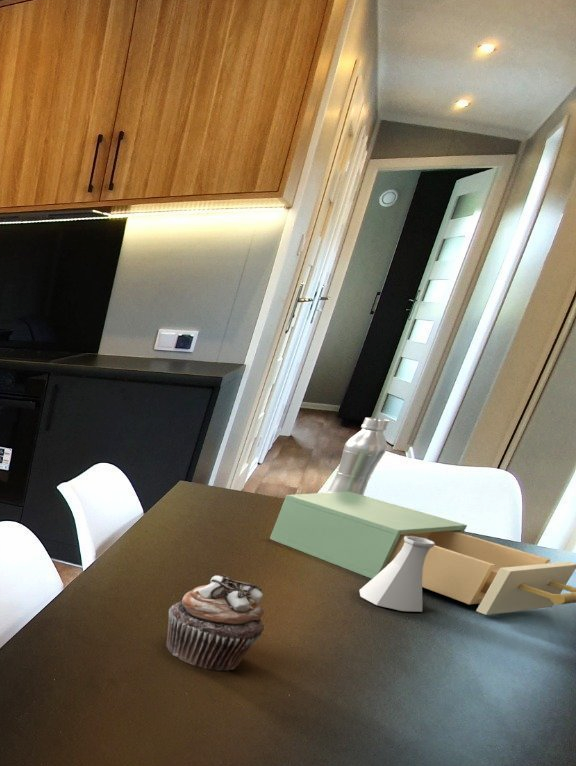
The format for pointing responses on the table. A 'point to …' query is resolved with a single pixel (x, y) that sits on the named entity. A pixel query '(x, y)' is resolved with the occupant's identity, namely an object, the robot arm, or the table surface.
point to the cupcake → (216, 623)
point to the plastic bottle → (361, 457)
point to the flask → (400, 578)
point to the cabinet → (351, 528)
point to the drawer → (475, 563)
